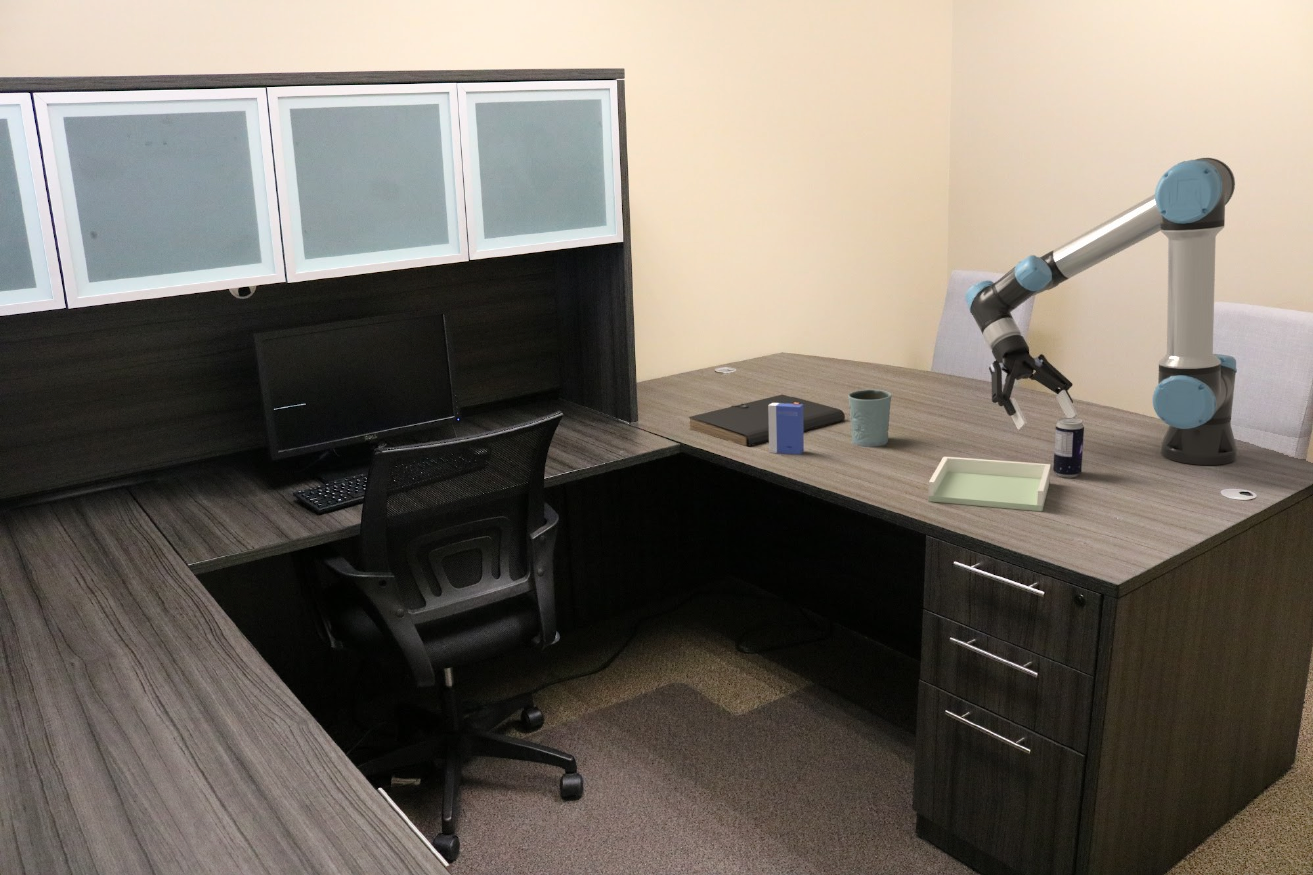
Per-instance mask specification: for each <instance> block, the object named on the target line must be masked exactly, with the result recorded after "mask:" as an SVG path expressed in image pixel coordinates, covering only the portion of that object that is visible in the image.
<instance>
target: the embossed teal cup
mask: <svg viewBox="0 0 1313 875" xmlns="http://www.w3.org/2000/svg"><path fill="white" fill-rule="evenodd" d="M847 398H848V406H849V418H850V427H851V428H850V430H851V441H852V444H853V445H856V446H859V447H865V448H867V447H869V448H870V447H871V448H875V447H882V446H885V445H887V444H888V441H889V432H888V431H889V429H890V428H889V426H890V413H891V402H892V393H891V392H889V391H886V390H883V389H871V388H870V389H868V388H867V389H859V390H853V391H851V392H850V393H849V394H848V396H847Z"/></svg>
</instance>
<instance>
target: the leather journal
mask: <svg viewBox="0 0 1313 875" xmlns="http://www.w3.org/2000/svg"><path fill="white" fill-rule="evenodd" d="M771 403H787V404H794V403H799V404H803V432H808V431H810V430H811V431H812V430H815V429H818V428H823V427H826V426H827V427H828V426H829V425H830V426H831V425H833V424H837V423H841V422H844V421H845V419H846V414H845V413H844V411H843V410H841V409H840V408H837V407H833V406H829V405H826V404H821V403H818V402H814V401H810V400H806V399H804V398H799V397H795V396H789V395H786V394H778V395H774V396H770V397H767V398H766V397H765V398H761V399H758V400H754V401H750V402H745V403H741V404H737V405H731V406H729V407H725V408H720V409H715V410H711V411H708V412H704V413H699V414H696V415H691V416H688V418H689V429H690V430H692V431H695V432H698V433H701V434H704V435H708V436H712V437H715V438H719V439H722V440H726V441H728V442H731V443H735V444H737V445H743V446H745V447H748V448H749V447H752V446H755V445H760V444H764V443H766V442H769V419H768V414H769V412H768V405H769V404H771Z"/></svg>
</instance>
